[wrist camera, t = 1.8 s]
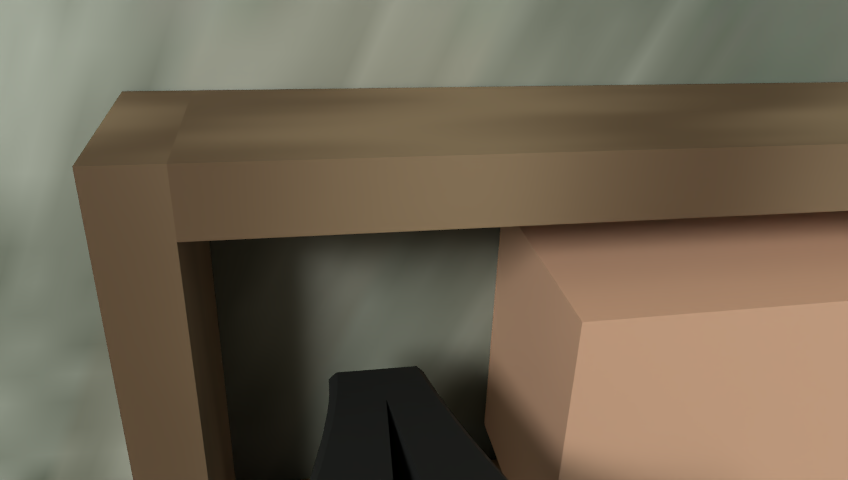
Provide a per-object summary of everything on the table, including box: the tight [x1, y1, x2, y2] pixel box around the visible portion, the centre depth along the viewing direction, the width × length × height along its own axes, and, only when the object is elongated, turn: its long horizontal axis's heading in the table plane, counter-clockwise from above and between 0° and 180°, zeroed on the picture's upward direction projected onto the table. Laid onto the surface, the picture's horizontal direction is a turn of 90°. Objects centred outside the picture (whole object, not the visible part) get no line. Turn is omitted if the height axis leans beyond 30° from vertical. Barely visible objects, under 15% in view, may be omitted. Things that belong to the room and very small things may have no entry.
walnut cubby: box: [72, 82, 848, 480], centre depth 13 cm, size 15×9×3 cm, turn 88°
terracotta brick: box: [484, 211, 848, 480], centre depth 13 cm, size 8×5×4 cm, turn 88°
